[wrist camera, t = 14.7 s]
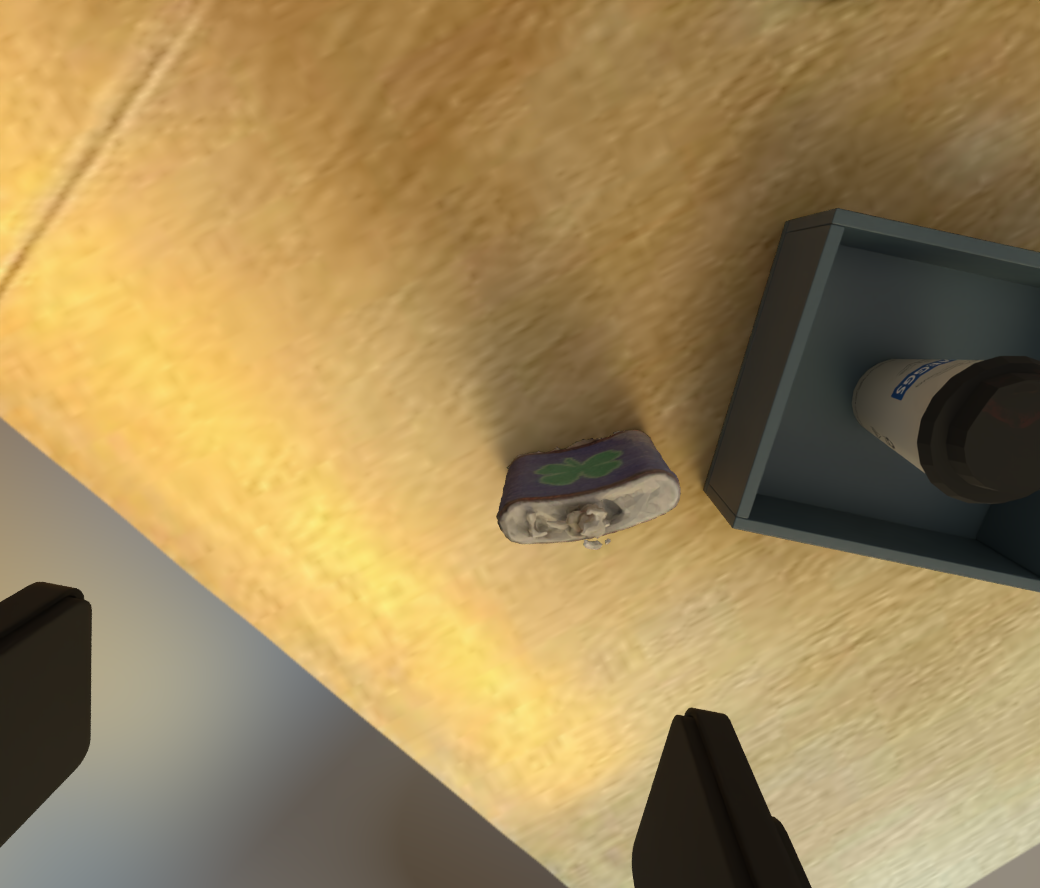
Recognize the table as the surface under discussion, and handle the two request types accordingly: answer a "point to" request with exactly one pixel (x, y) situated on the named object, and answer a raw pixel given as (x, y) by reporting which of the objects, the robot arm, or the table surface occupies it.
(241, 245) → the table surface
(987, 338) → the tub
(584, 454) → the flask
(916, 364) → the coffee cup
